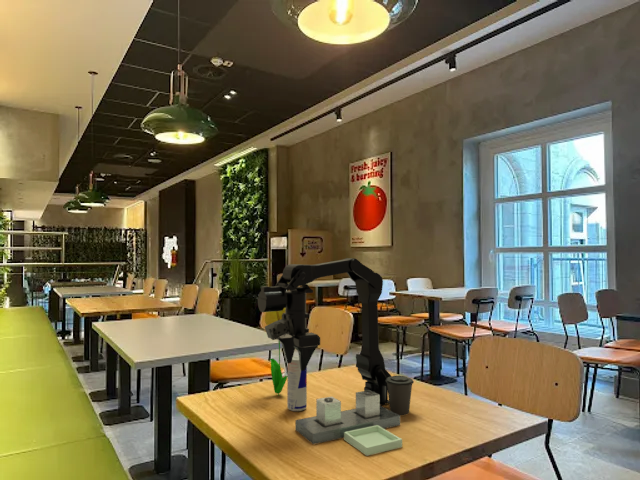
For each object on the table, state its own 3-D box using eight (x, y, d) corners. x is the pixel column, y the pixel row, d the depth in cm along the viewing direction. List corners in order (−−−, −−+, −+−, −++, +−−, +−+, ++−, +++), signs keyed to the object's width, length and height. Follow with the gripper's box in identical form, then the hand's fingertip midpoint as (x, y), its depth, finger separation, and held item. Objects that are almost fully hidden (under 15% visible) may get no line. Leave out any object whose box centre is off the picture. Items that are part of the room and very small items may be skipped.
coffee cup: (396, 419, 125) (396, 382, 125) (379, 409, 132) (379, 375, 132) (419, 414, 128) (419, 378, 129) (402, 405, 136) (402, 372, 136)
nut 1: (331, 427, 119) (331, 395, 119) (340, 433, 115) (340, 400, 115) (316, 430, 117) (316, 397, 117) (324, 436, 113) (325, 403, 113)
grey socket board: (378, 413, 129) (378, 404, 129) (400, 425, 120) (400, 415, 120) (295, 429, 117) (295, 420, 117) (313, 444, 108) (313, 433, 108)
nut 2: (369, 419, 125) (369, 388, 125) (379, 425, 120) (379, 393, 121) (355, 422, 122) (355, 391, 123) (365, 428, 118) (365, 396, 119)
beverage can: (304, 412, 129) (304, 360, 130) (285, 411, 130) (285, 359, 131) (308, 406, 135) (308, 355, 135) (290, 404, 136) (290, 354, 136)
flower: (296, 394, 146) (297, 300, 147) (281, 401, 139) (282, 303, 140) (275, 389, 151) (276, 299, 151) (259, 396, 144) (260, 301, 145)
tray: (377, 432, 116) (377, 424, 116) (402, 447, 107) (402, 439, 107) (343, 439, 111) (343, 432, 111) (366, 455, 102) (366, 447, 102)
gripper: (256, 307, 130) (256, 362, 129) (281, 316, 113) (281, 379, 113) (292, 305, 135) (292, 358, 134) (321, 313, 118) (321, 373, 118)
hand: (295, 366), depth 125 cm, fingers open, 9 cm apart
